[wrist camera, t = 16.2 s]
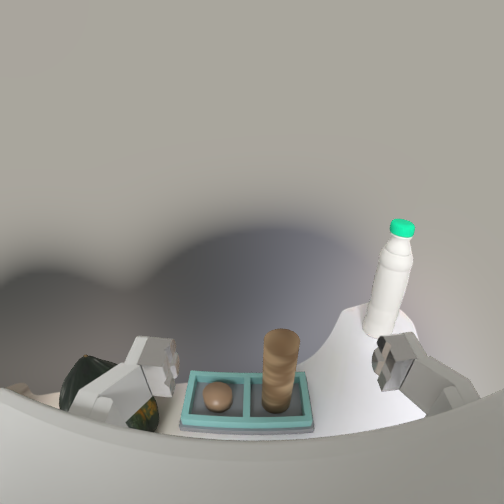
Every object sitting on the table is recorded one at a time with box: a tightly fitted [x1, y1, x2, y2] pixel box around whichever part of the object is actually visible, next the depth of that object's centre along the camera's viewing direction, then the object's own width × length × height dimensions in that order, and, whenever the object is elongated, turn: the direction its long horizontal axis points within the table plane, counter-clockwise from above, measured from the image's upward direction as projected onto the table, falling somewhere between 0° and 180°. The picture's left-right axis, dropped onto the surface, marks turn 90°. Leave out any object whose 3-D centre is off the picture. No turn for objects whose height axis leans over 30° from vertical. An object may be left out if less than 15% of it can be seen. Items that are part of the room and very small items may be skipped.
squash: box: [59, 355, 159, 432], centre depth 33 cm, size 14×15×15 cm
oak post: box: [261, 329, 300, 414], centre depth 38 cm, size 4×4×14 cm
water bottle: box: [363, 219, 415, 339], centre depth 52 cm, size 7×7×25 cm
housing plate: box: [179, 371, 314, 435], centre depth 41 cm, size 20×11×4 cm, turn 90°
